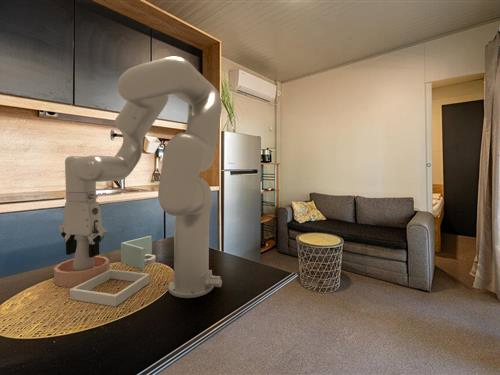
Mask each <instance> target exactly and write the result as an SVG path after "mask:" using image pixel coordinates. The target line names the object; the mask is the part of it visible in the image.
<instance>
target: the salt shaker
mask: <svg viewBox="0 0 500 375" xmlns="http://www.w3.org/2000/svg"><path fill="white" fill-rule="evenodd" d="M75 239H76V240H77V248H76V252H75V253H74V257H73V259H74V260H73V264H72V269H73V271H74V272H75V271H84V270H88V269H92V268H94V266H95V263H94V258H93V257H92V258H90V257H89V244H91V243H90V241H89V239H88V237H87V236H80V235H75Z"/></svg>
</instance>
